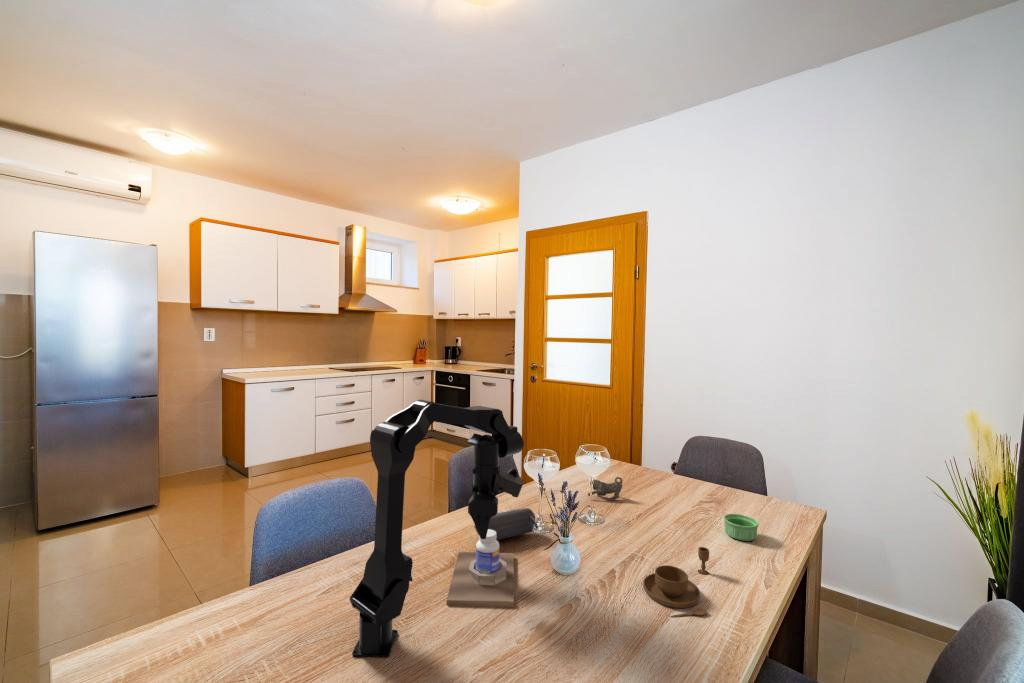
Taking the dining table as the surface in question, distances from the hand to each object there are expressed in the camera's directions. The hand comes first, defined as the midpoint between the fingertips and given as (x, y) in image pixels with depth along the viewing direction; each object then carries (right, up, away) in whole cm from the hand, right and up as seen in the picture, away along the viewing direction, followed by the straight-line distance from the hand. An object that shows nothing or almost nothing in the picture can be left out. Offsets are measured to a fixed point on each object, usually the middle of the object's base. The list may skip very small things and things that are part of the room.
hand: (484, 529), depth 101 cm
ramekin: (+72, -13, +26) cm, 78 cm away
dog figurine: (+39, -12, +53) cm, 67 cm away
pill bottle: (+1, -11, 0) cm, 11 cm away
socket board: (0, -12, +1) cm, 12 cm away
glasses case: (+5, -12, +20) cm, 24 cm away
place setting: (+46, -14, -2) cm, 48 cm away
